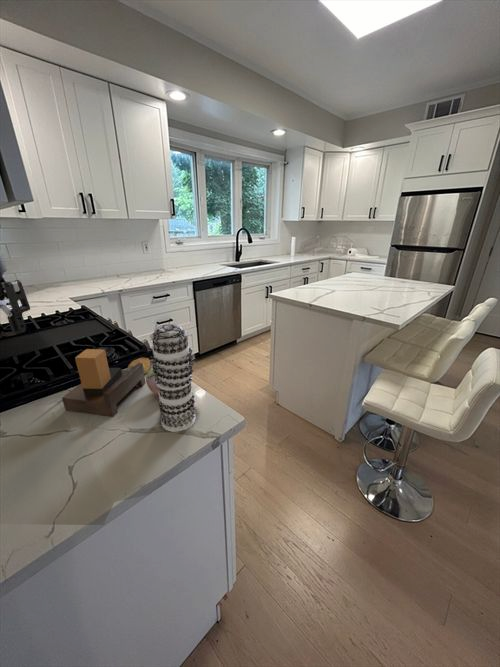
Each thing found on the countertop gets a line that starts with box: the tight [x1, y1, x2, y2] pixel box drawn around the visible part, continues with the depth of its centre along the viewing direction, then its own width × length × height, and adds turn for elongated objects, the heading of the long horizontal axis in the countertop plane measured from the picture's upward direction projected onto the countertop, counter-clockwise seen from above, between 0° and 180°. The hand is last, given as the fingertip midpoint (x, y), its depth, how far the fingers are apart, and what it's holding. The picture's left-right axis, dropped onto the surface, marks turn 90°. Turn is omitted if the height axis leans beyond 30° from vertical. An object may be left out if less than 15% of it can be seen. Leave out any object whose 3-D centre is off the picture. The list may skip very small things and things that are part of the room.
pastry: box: [127, 357, 151, 375], centre depth 93 cm, size 9×7×4 cm
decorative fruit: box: [145, 367, 159, 396], centre depth 79 cm, size 9×8×10 cm
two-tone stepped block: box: [74, 348, 122, 395], centre depth 76 cm, size 11×5×11 cm, turn 179°
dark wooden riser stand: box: [61, 363, 146, 418], centre depth 78 cm, size 14×16×7 cm
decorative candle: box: [149, 324, 197, 433], centre depth 65 cm, size 9×9×25 cm
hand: (1, 330), depth 56 cm, fingers open, 8 cm apart
